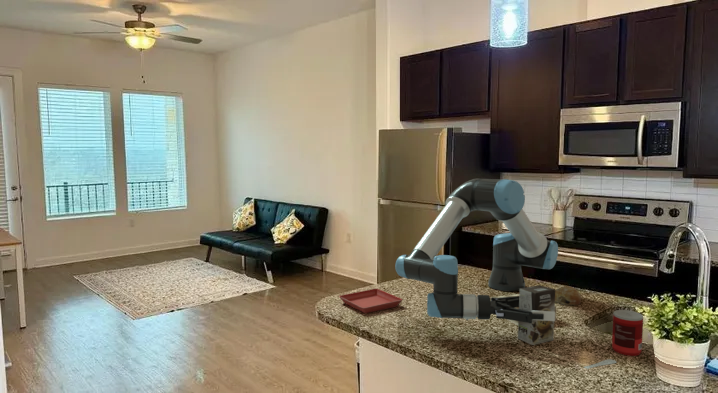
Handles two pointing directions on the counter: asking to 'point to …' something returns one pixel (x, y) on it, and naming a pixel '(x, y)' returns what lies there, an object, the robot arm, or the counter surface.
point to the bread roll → (567, 296)
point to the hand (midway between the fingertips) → (549, 309)
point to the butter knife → (602, 363)
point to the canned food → (627, 332)
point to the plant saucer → (370, 300)
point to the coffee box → (537, 301)
